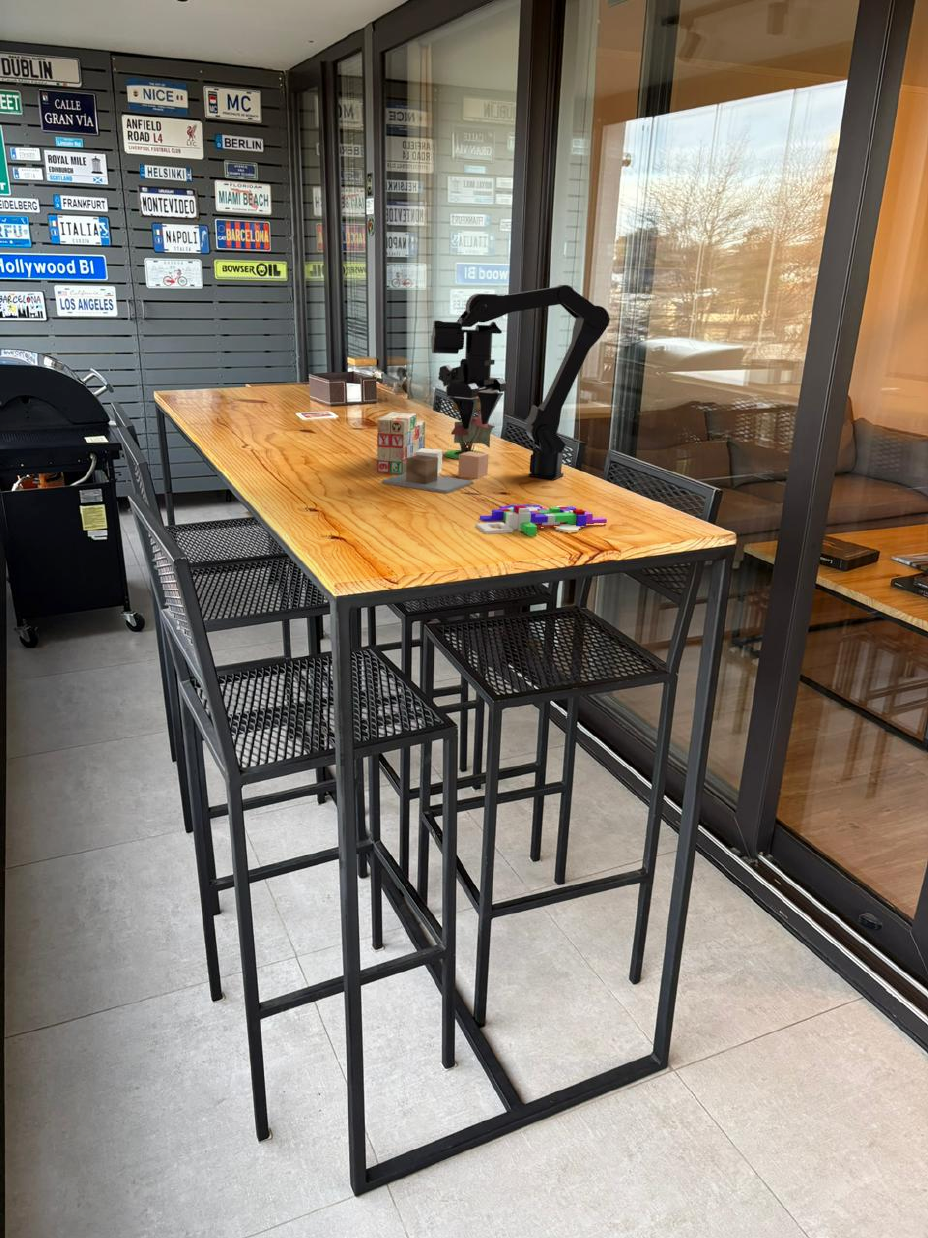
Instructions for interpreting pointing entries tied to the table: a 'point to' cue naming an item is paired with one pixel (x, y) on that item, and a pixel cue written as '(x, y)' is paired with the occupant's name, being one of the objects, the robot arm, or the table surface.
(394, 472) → the stack of blocks
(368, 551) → the table surface
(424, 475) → the walnut brick
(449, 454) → the plant figurine
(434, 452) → the offwhite brick
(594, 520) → the building block set
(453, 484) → the plate
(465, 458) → the terracotta brick
